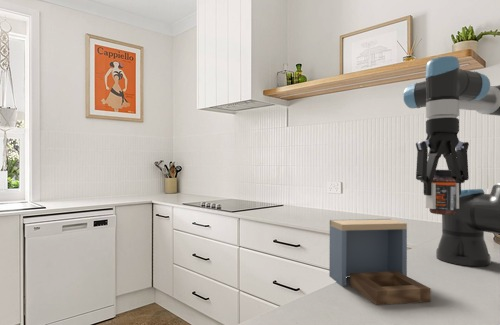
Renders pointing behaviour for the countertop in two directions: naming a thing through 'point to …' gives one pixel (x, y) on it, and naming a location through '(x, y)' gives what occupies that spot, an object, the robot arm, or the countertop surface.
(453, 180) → the supplement bottle
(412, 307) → the countertop surface
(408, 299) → the socket
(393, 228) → the blue open cabinet
